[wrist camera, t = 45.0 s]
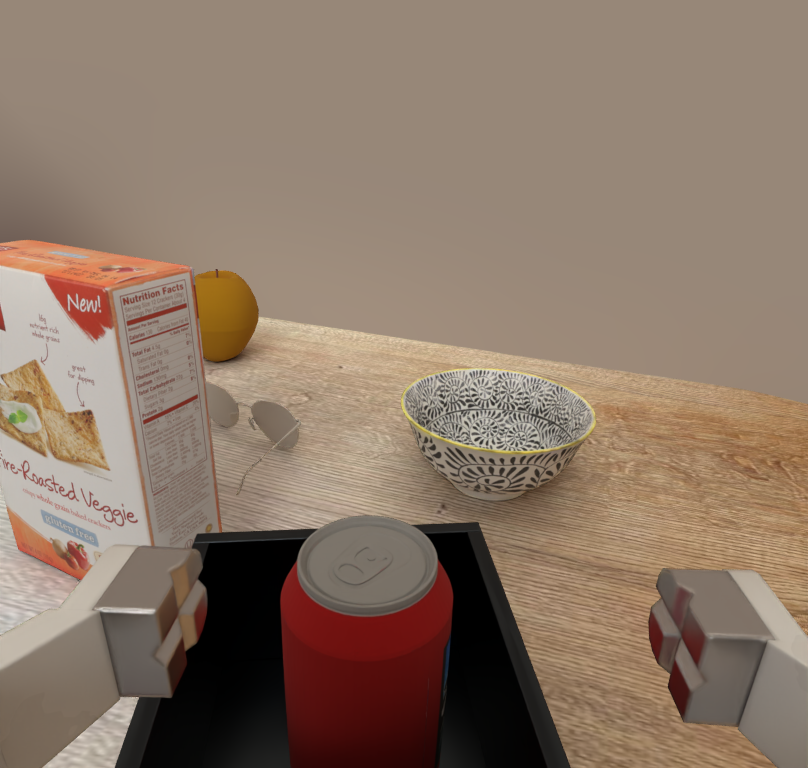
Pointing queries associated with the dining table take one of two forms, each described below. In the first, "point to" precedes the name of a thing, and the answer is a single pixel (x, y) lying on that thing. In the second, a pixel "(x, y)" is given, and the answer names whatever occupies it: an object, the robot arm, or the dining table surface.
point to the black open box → (264, 671)
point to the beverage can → (366, 647)
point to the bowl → (496, 428)
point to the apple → (224, 314)
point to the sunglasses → (266, 415)
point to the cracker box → (101, 404)
